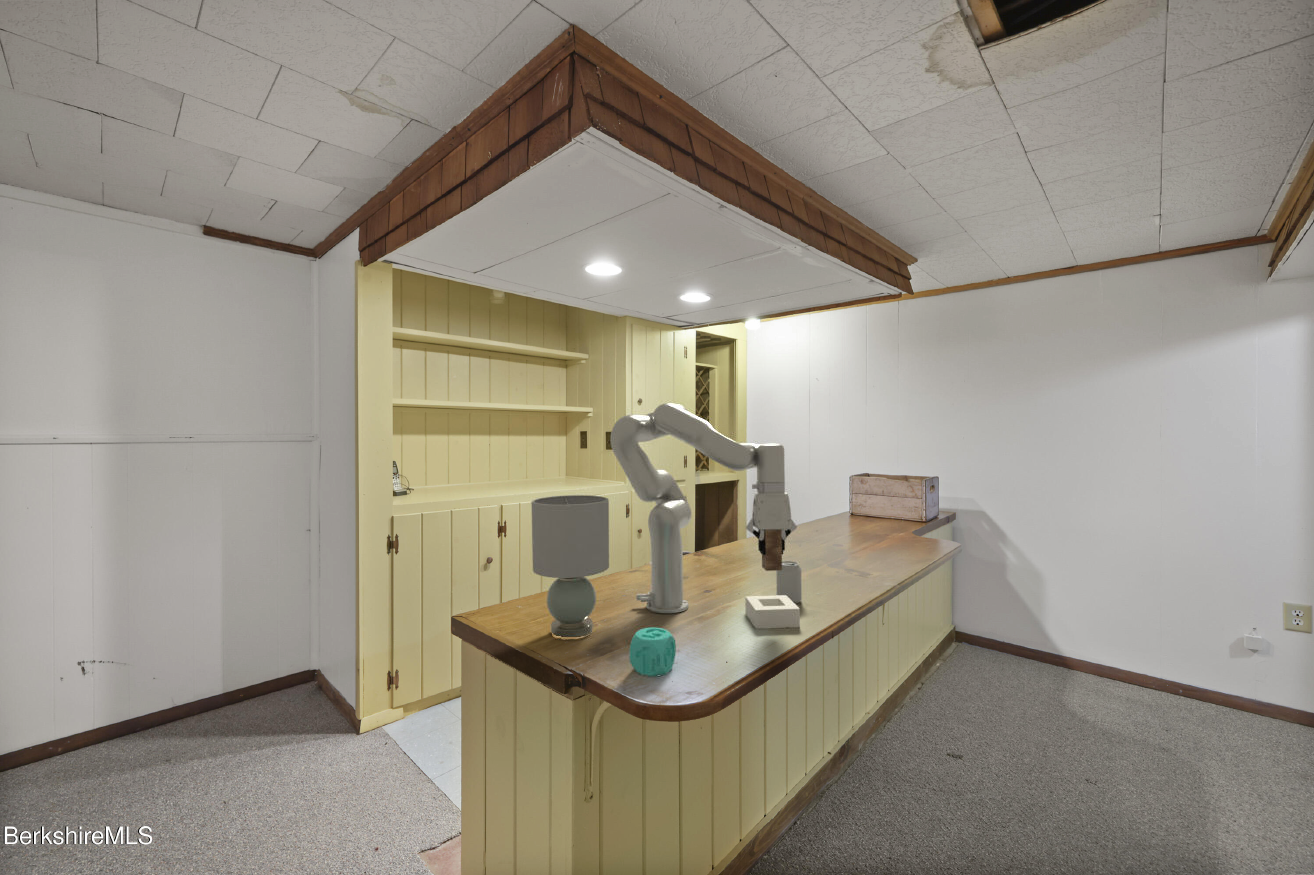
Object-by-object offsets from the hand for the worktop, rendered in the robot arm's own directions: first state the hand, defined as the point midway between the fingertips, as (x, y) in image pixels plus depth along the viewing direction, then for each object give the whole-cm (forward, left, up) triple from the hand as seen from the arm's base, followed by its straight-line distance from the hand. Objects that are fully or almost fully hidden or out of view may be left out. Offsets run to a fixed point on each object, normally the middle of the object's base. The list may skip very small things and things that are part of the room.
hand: (771, 552), depth 154 cm
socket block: (0, 0, -19) cm, 19 cm away
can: (+10, +16, -19) cm, 27 cm away
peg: (0, 0, -4) cm, 4 cm away
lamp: (-55, -4, -19) cm, 58 cm away
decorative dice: (-35, -28, -19) cm, 49 cm away
